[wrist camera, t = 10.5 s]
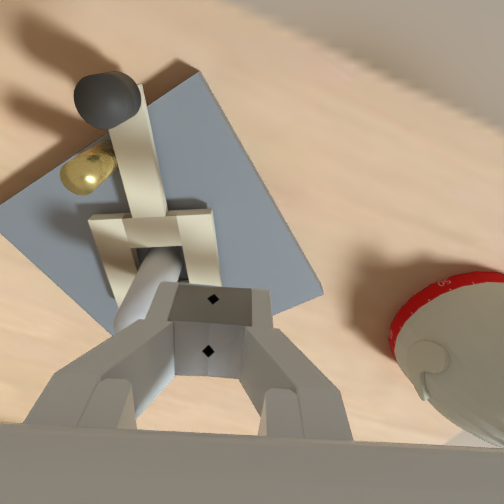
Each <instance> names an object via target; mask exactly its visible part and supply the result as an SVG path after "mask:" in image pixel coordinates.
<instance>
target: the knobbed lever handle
mask: <svg viewBox="0 0 504 504" xmlns="http://www.w3.org/2000/svg"><path fill="white" fill-rule="evenodd" d="M74 102H75V106H76V108H77V110H78V112H79V114H80V115H81V117H82V118H83V119H84V120H85V121H86V122H87V123H89V124H90V125H92V126H94V127H96V128H99V129H108V130H109V134H110V137H111V141H112V145H113V148H114V152H115V156H116V159H117V163H118V167H119V170H120V174H121V178H122V181H123V185H124V189H125V192H126V196H127V200H128V203H129V207H130V211H131V213H114V214H94V215H92V216H91V218H90V219H89V220H88V223H89V226H90V228H91V231H92V234H93V237H94V240H95V243H96V246H97V248H98V251H99V254H100V257H101V260H102V263H103V265H104V268H105V271H106V274H107V277H108V280H109V282H110V285H111V288H112V291H113V294H114V297H115V299H116V302H117V305H118V308H119V307H120V306H121V304H122V302H123V300H124V298H125V296H126V294H127V292H128V290H129V288H130V286H131V284H132V282H133V280H134V278H135V276H136V274H137V272H138V270H139V268H140V266H141V264H140V261H139V257H138V254H137V250H136V248H145V247H165V246H182V248H183V253H184V258H185V263H186V268H187V273H188V278H189V280H184V281H177V282H179V283H191V284H202V285H212V286H220V287H222V279H221V272H220V264H219V256H218V249H217V241H216V233H215V226H214V218H213V210H212V208H209V209H190V210H171V211H168V207H167V202H166V197H165V192H164V187H163V183H162V178H161V173H160V168H159V163H158V158H157V154H156V149H155V144H154V139H153V134H152V129H151V125H150V120H149V115H148V110H147V105H146V100H145V96H144V91H143V86H142V84H136V83H135V82H134V80H133V79H132V78H130V77H129V76H128V75H126V74H124V73H122V72H117V71H112V72H106V73H101V74H95V75H89V76H86V77H84V78H82V79H81V80H80V81H79V82H78V83H77V85H76V87H75V90H74Z"/></svg>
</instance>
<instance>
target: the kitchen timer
mask: <svg viewBox="0 0 504 504" xmlns="http://www.w3.org/2000/svg"><path fill="white" fill-rule="evenodd" d="M389 342H390V346H391V350H392V353H393V355H394V357H395V359H396V361H397V363H398V365H399V367H400V368H401V370H402V371H403V373H404V374H405V375H406V376H407V378H408V379H409V380H410V381H411V382H412V384H413V385H414V387H415V389H416V391H417V393H418V395H419V396H420V398H421V399H422V400H423V401H426V400H428V401H429V402H430V403H431V405H432V406H433V407H434V408H435V409H436V410H437V411H439V412H440V413H441V414H442V415H443V416H444V417H446V418H447V419H448V420H450V421H451V422H452V423H454V424H455V425H457V426H458V427H460V428H462V429H463V430H465V431H467V432H469V433H471V434H473V435H474V436H476V437H478V438H480V439H482V440H484V441H486V442H488V443H491V444H494V445H496V446H499V447H503V448H504V274H500V273H497V272H471V273H466V274H460V275H455V276H451V277H449V278H446V279H444V280H441V281H439V282H436V283H434V284H431V285H430V286H428V287H427V288H425V289H423V290H422V291H420V292H419V293H417V294H416V295H414V296H413V297H412V298H411V299H410V300H409V301H408V302H407V303H406V304H405V305H404V306H403V307H402V308H401V309H400V310H399V311H398V313H397V315H396V317H395V318H394V320H393V322H392V324H391V327H390V333H389Z"/></svg>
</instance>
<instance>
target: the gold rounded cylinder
mask: <svg viewBox="0 0 504 504" xmlns="http://www.w3.org/2000/svg"><path fill="white" fill-rule="evenodd" d="M118 168H119V167H118V163H117V159H116V156H115V152H114V148H113V145H112V141H111V140H103V141H101V142H99V143H97V144H96V145H94V146H93V147H91V148H89V149H88V150H86V151H85V152H83V153H81V154H80V155H78V156H77V157H75V158H73V159H72V160H70V161H69V162H67V163H65V164H64V165H63V166H62V167H61V169H60V179H61V182H62V184H63V185H64V186H65V187H66V188H67V189H68V190H69V191H70V192H72V193H74V194H76V195H82V196H83V195H88V194H91V193H92V192H93V191H94V190H95V189H96V188H97V187H99V186H100V185H101V184H102V183H103V182H104V181H105V180H106V179H107V178H108V177H110V176H111V175H112V174H113V173H114V172H115V171H116V170H117V169H118Z"/></svg>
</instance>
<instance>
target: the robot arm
mask: <svg viewBox="0 0 504 504" xmlns="http://www.w3.org/2000/svg"><path fill="white" fill-rule="evenodd" d="M175 375H185V376H207V375H208V376H210V377H222V378H233V379H239V381H240V383H241V384H242V386H243V388H244V389H245V391H246V393H247V395H248V396H249V398H250V400H251V401H252V403H253V405H254V407H255V408H256V410H257V412H258V413H259V415H260V417H261V420H260V426H259V431H258V436H252V435H233V434H214V433H194V432H175V431H155V430H137V426H136V419H137V417H138V416H139V415H140V414H141V413H142V412H143V411H144V410H145V409H146V408H147V407H148V406H149V404H150V403H151V402H152V401H153V400H154V399H155V398H156V397H157V396H158V395H159V394H160V392H161V391H162V390H163V389H164V388H165V387H166V386H167V385H168V384H169V383H170V382H171V381H172V379H173V378H174V377H175ZM0 504H504V449H503V448H485V447H466V446H465V447H464V446H446V445H427V444H408V443H389V442H369V441H354V440H353V437H352V433H351V430H350V426H349V422H348V419H347V415H346V411H345V408H344V404H343V400H342V397H341V393H340V391H339V390H338V389H337V387H336V386H335V385H334V384H333V383H332V382H331V381H330V380H329V379H328V378H327V377H326V376H325V375H324V374H323V373H322V372H321V371H320V370H319V369H318V368H317V367H316V366H315V365H314V364H313V363H312V362H311V361H310V360H309V359H308V358H307V357H306V356H305V355H304V354H303V353H302V352H301V351H300V350H299V349H298V348H297V347H296V346H295V345H294V344H293V343H292V342H291V341H290V340H289V339H288V338H287V337H286V335H285V334H284V333H283V332H282V331H281V330H280V329H276V328H273V318H272V307H271V296H270V290H269V289H262V288H235V287H220V286H212V285H202V284H191V283H179V282H168V281H162V282H161V283H159V285H158V288H157V290H156V293H155V295H154V298H153V300H152V303H151V305H150V307H149V310H148V312H147V315H146V317H145V319H138V320H137V321H135V322H134V323H132V324H131V325H129V326H127V327H126V328H124V329H123V330H121V331H120V332H118V333H116V334H115V335H113V336H112V337H110V338H109V339H107V340H106V341H104V342H102V343H101V344H99V345H98V346H96V347H95V348H93V349H91V350H90V351H88V352H87V353H85V354H84V355H82V356H81V357H79V358H77V359H76V360H74V361H73V362H71V363H70V364H68V365H66V366H65V367H63V368H62V369H60V370H59V371H57V372H56V373H54V375H53V376H52V378H51V379H50V381H49V382H48V384H47V386H46V387H45V389H44V390H43V392H42V394H41V395H40V397H39V398H38V400H37V401H36V403H35V405H34V406H33V408H32V409H31V411H30V412H29V414H28V416H27V417H26V419H25V420H24V422H23V424H19V423H0Z"/></svg>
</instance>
